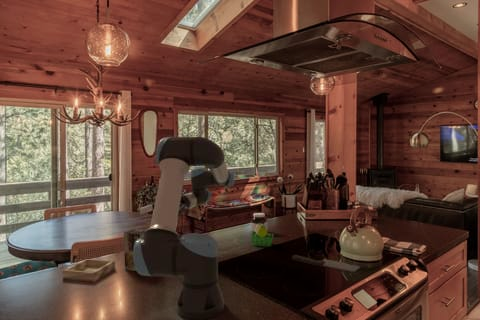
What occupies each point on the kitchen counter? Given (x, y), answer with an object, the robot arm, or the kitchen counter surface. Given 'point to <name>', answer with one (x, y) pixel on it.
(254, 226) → the spread jar
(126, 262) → the coffee box
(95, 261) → the box
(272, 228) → the kitchen counter surface
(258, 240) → the fruit basket
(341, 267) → the cleaver
